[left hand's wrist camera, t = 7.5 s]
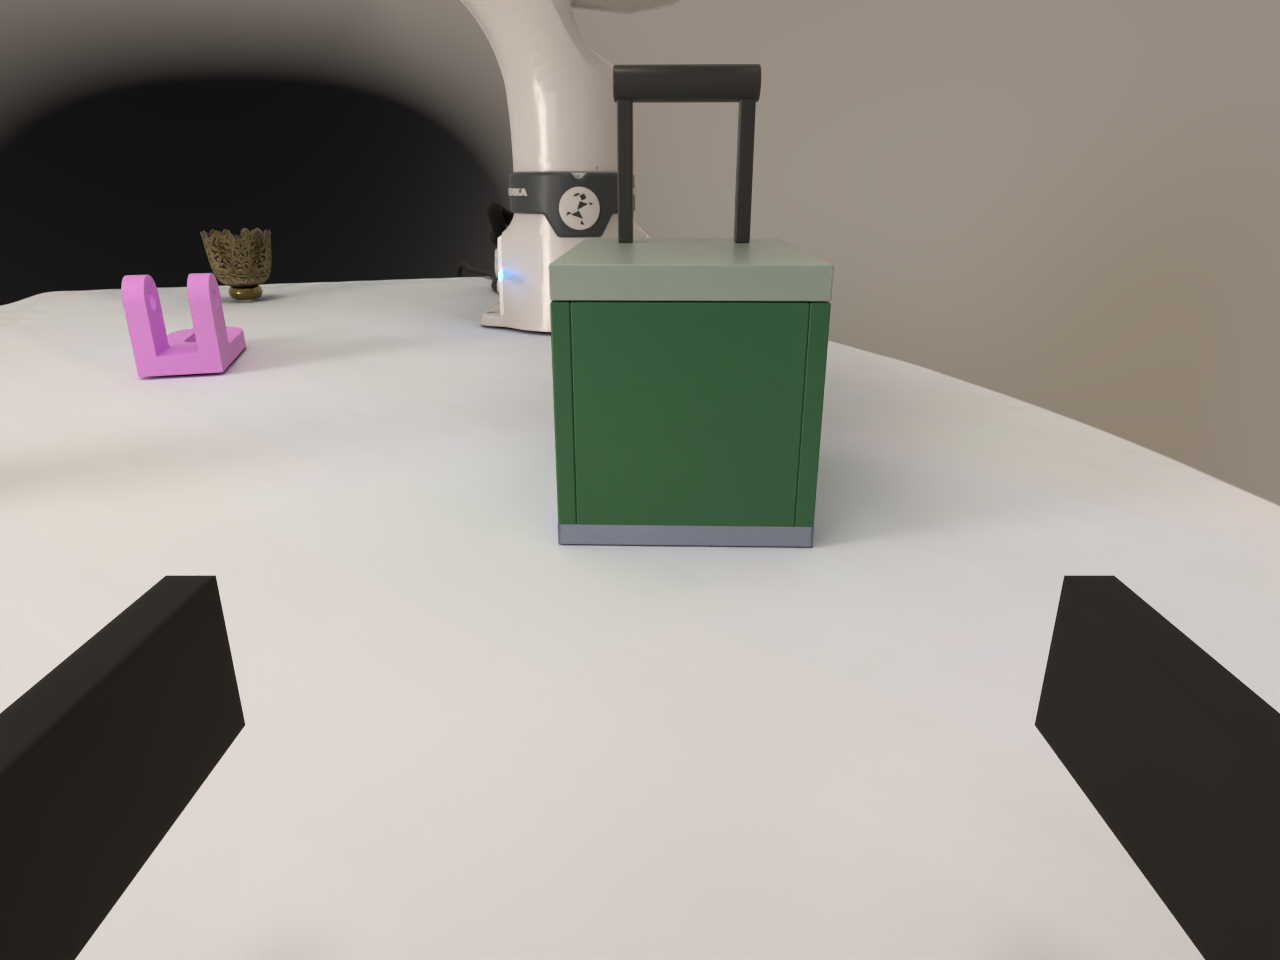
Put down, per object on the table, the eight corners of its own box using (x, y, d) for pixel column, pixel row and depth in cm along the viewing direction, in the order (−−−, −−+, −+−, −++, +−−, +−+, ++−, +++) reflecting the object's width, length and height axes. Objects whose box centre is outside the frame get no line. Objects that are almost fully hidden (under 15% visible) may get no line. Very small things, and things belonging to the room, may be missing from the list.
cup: (211, 304, 94) (198, 231, 91) (213, 296, 100) (201, 228, 98) (281, 300, 97) (271, 230, 94) (278, 293, 103) (268, 227, 101)
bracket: (222, 372, 61) (205, 275, 58) (138, 377, 59) (117, 278, 57) (250, 341, 72) (237, 260, 70) (180, 344, 71) (164, 261, 68)
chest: (588, 440, 45) (584, 265, 42) (769, 442, 45) (779, 265, 42) (558, 544, 32) (549, 302, 29) (812, 547, 32) (831, 302, 29)
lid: (586, 262, 43) (582, 74, 40) (777, 263, 42) (788, 73, 39) (549, 300, 29) (538, 18, 26) (831, 301, 29) (853, 16, 26)
